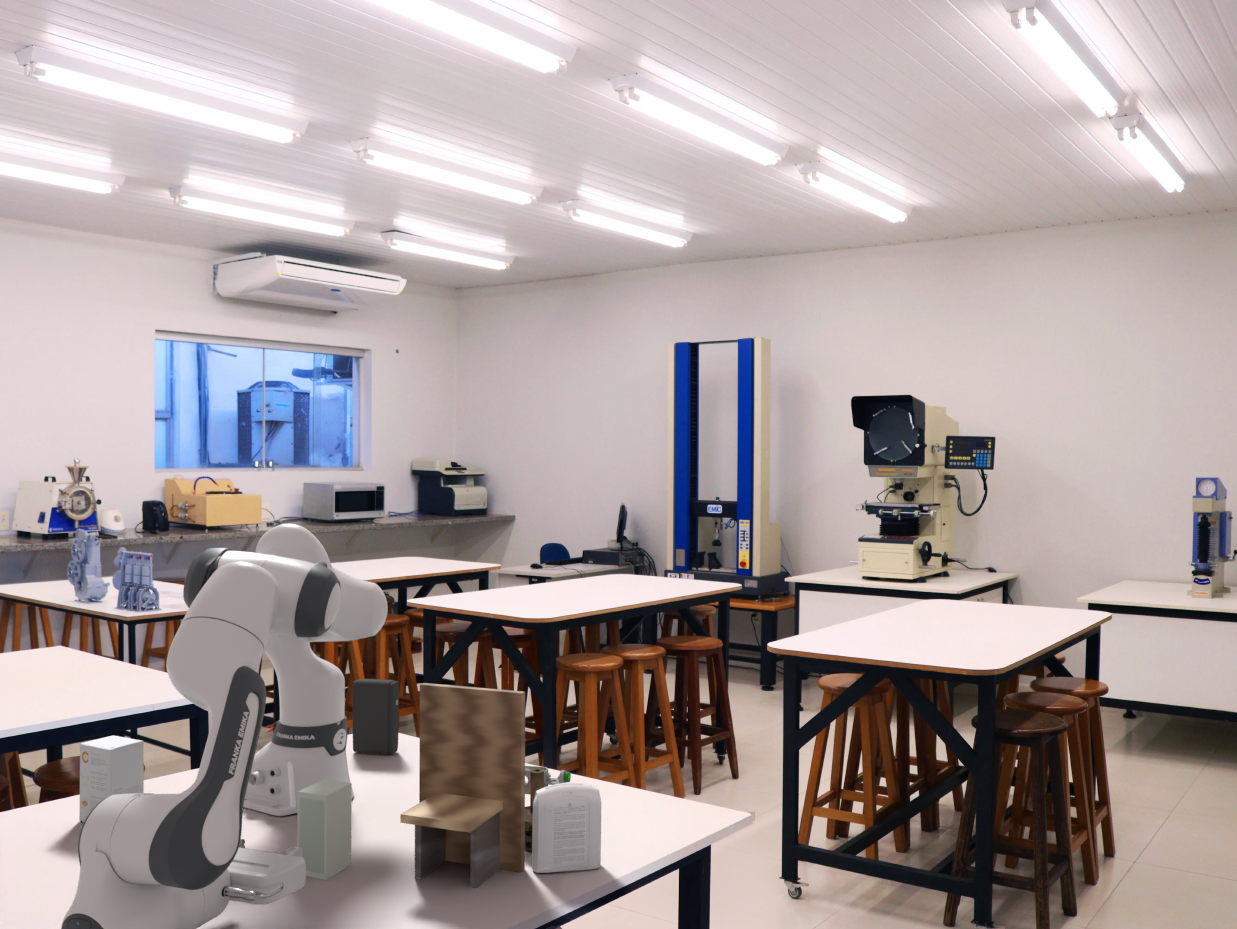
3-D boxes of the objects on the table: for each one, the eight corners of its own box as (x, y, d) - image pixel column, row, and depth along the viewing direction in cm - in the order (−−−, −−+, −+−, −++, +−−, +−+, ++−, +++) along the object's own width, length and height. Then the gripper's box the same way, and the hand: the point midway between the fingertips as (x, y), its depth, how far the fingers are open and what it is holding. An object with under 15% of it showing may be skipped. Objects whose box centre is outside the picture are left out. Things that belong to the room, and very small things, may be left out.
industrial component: (512, 839, 157) (512, 763, 157) (557, 836, 159) (557, 761, 159) (516, 862, 148) (516, 782, 148) (564, 859, 149) (564, 779, 149)
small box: (144, 817, 167) (144, 740, 167) (110, 830, 161) (110, 749, 161) (112, 810, 170) (113, 734, 170) (78, 821, 165) (78, 743, 165)
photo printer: (597, 859, 149) (598, 777, 149) (604, 870, 145) (604, 785, 145) (529, 865, 147) (530, 781, 147) (534, 876, 143) (534, 790, 143)
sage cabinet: (296, 875, 143) (297, 791, 143) (322, 859, 149) (323, 779, 149) (326, 879, 142) (326, 795, 142) (351, 864, 147) (351, 783, 147)
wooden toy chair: (381, 882, 141) (382, 698, 141) (423, 853, 151) (423, 682, 151) (489, 900, 135) (489, 708, 135) (524, 869, 145) (525, 691, 146)
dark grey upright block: (401, 751, 206) (401, 679, 206) (393, 756, 202) (393, 683, 203) (359, 748, 208) (360, 677, 208) (351, 754, 204) (351, 681, 204)
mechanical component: (567, 836, 159) (567, 773, 159) (505, 831, 161) (505, 769, 161) (571, 829, 161) (571, 768, 162) (511, 825, 164) (511, 764, 164)
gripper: (263, 873, 117) (334, 834, 130) (129, 851, 124) (209, 815, 137) (263, 927, 117) (334, 882, 130) (128, 901, 124) (209, 861, 137)
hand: (269, 848), depth 134 cm, fingers open, 8 cm apart
